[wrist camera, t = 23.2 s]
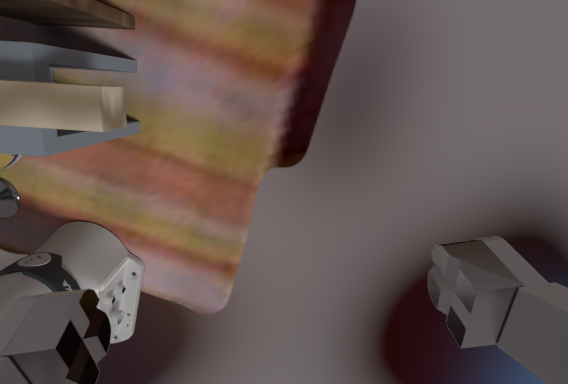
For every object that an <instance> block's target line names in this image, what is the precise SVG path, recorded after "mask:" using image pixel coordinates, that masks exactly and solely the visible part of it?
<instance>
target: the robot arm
mask: <svg viewBox="0 0 568 384" xmlns="http://www.w3.org/2000/svg"><path fill="white" fill-rule="evenodd" d="M432 259H433V261H434V262H435V265H434V266H433V267H432V268H431V269H430V270H429V273H428V281H427V282H428V289H429V293H430V296H431V299H432V301H433V303H434V304H435V306H436V308H437V309H438V310H440V311H441V312H443V313H445V314H446V315H448V317H447V322H446V324H447V326H448V328H449V329H450V331H451V333H452V335H453V336H454V338H455V340H456V341H457V343H458V344H459V346H460V348H468V347H476V346H485V345H494V344H498V345H497V346H498V347H499V348H500V349H502V350H503V351H504V352H506V353H507V354H508V355H510V356H511V357H513V358H514V359H515V360H516V361H518V362H519V363H521V364H522V365H523V366H525V367H526V368H527V369H529V370H530V371H531V372H533V373H534V374H536V375H537V376H538V377H539V378H541V379H542V380H543V381H545V382H546V383H548V384H568V288H567V287H564V286H562V285H559V284H557V283H548V282H547V281H546V280H545V279H544V278H543V277H542V276H541V275H540V274H539V273H538V272H536V270H534V268H533V267H532V266H531V265H530V264H529V263H527V262H526V261H525V260H524V259H523V258H522V257H521V256H520V255H519V254H518V253H517V252H516V251H515V250H514V249H513V248H512V247H511V246H510V245H509V244H508V243H507V242H506V241H505V240H504V239H502V238H500V237H498V236H495V237H488V238H480V239H476V240H467V241H460V242H453V243H445V244H438V245H436V246H435V247H434V249H433V252H432ZM143 271H144V265H143V263H142V262H141V260H139V259H138V258H137V257H135V256H134V255H132V254H131V253H129V252H128V251H127V250H126V248H125V247H124V246H123V244H122V243H121V242H120V241H119V239H118V238H117V237H116V236H115V235H113V234H112V233H111V232H110V231H108V230H107V229H105V228H103V227H101V226H99V225H96V224H93V223H89V222H71V223H67V224H65V225H63V226H61V227H59V228H58V229H56V230H55V231H54V232H53V233H52V235H51V236H50V237H49V238H48V239H47V240H46V241H45V242H44V243H43V244H42V245H41V246H40V247H39V248H38V249H37V250H36V251H34V252H33V253H32V254H31V255H28V256H26V257H24V258H22V259H20V260H18V261H16V262H15V263H13V264H11V265H9V266H8V267H6V268H5V269H3V270H1V271H0V384H96V381H97V379H98V376H99V373H100V371H99V369H98V367H97V365H96V364H97V363H98V361H100V360H101V359H102V358H103V357H104V356H105V355H106V353H107V350H108V347H109V344H110V343H116V342H121V341H124V340H126V339H128V338H130V337H131V335H132V334H133V332H134V326H135V321H136V314H137V308H138V301H139V296H140V289H141V283H142V277H143ZM133 272H135V273H136V274H134V273H133ZM115 335H116V336H115Z"/></svg>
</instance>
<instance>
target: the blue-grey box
mask: <svg viewBox="0 0 568 384" xmlns="http://www.w3.org/2000/svg"><path fill="white" fill-rule="evenodd" d="M53 68H69V69H86V70H103V71H119V72H136V73H137V61H136V60H130V59H125V58H119V57H113V56H107V55H101V54H95V53H89V52H84V51H78V50H72V49H66V48H60V47H54V46H49V45H43V44H37V43H31V42H14V41H0V79H6V80H22V81H38V82H54V75H53ZM126 122H127V127H125V128H120V129H115V130H110V131H105V132H94V131H80V130H65V129H51V128H36V127H21V126H7V125H0V153H4V154H18V155H32V156H49V155H53V154H57V153H61V152H65V151H69V150H73V149H77V148H81V147H85V146H89V145H92V144H96V143H100V142H104V141H108V140H112V139H116V138H120V137H124V136H128V135H132V134H136V133H140V132H141V131H140V121H127V120H126Z"/></svg>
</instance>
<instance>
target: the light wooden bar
mask: <svg viewBox="0 0 568 384" xmlns="http://www.w3.org/2000/svg"><path fill="white" fill-rule="evenodd" d="M0 125H7V126H21V127H36V128H51V129H65V130H80V131H94V132H105V131H110V130H115V129H120V128H125V127H127V122H126V106H125V90H124V87H118V86H102V85H86V84H70V83H54V82H38V81H22V80H6V79H0Z"/></svg>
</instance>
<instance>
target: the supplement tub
mask: <svg viewBox="0 0 568 384" xmlns="http://www.w3.org/2000/svg"><path fill="white" fill-rule="evenodd" d="M21 157H22V155H18V154H4V153H0V170H2V169H5V168H8V167H10V166H11V165H13V164H15V163H16V162H17V161H18V160H19V159H20V158H21Z"/></svg>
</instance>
